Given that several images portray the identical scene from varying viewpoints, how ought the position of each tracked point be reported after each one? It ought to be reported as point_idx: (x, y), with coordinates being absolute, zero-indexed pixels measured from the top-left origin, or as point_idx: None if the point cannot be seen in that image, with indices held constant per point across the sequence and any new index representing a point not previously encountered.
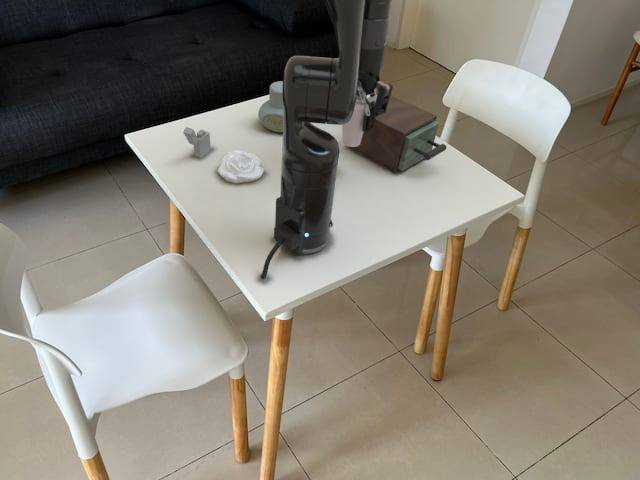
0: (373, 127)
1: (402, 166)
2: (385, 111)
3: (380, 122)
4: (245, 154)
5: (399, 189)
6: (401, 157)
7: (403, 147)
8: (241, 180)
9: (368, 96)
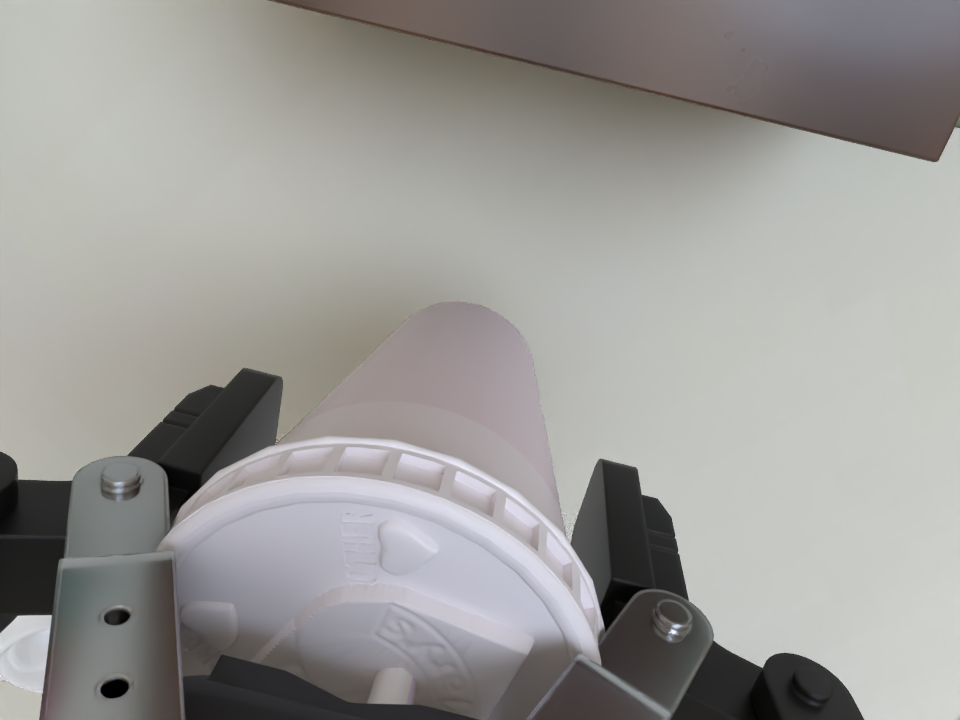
0: (668, 519)
1: None
2: (847, 703)
3: (594, 79)
4: (12, 643)
5: (870, 265)
6: None
7: None
8: None
9: (462, 557)
